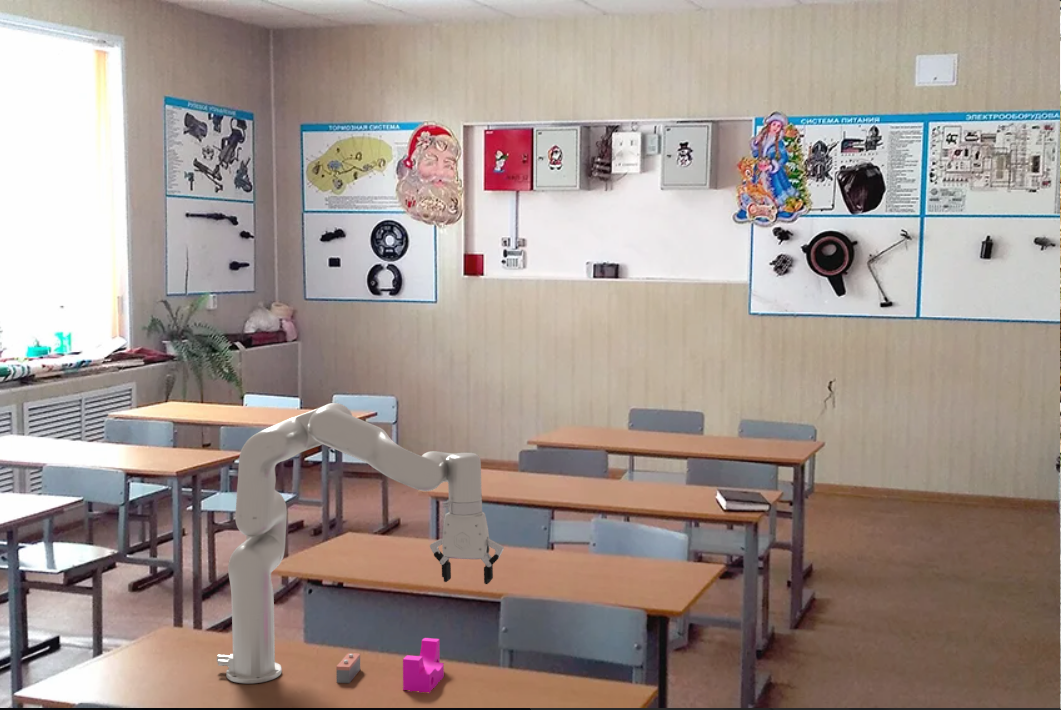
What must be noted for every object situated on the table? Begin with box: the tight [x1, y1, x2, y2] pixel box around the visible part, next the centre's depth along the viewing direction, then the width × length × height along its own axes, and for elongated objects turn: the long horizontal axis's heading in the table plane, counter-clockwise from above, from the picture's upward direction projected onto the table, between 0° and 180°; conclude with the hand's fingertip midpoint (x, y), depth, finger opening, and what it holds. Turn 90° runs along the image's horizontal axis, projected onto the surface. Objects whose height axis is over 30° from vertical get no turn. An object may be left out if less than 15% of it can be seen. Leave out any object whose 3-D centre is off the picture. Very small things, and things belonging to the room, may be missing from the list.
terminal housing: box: [335, 652, 361, 684], centre depth 270 cm, size 3×9×4 cm, turn 172°
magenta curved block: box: [402, 637, 445, 694], centre depth 268 cm, size 15×6×8 cm, turn 166°
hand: (467, 581), depth 265 cm, fingers open, 9 cm apart
